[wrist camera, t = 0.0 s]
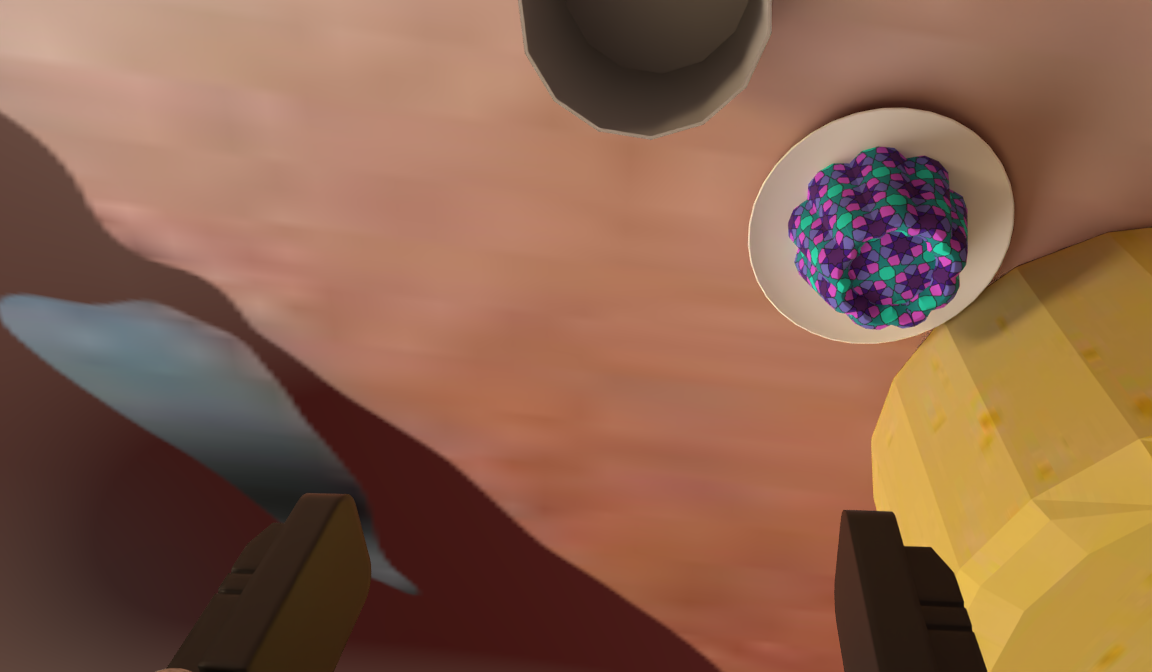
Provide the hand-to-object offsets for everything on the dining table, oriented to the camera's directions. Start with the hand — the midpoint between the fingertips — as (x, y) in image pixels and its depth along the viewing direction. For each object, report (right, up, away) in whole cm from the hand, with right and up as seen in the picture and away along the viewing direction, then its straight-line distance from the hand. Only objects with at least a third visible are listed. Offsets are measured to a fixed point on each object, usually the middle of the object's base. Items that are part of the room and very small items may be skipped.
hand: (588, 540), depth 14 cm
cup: (+3, +19, +23) cm, 30 cm away
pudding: (+14, +9, +27) cm, 32 cm away
